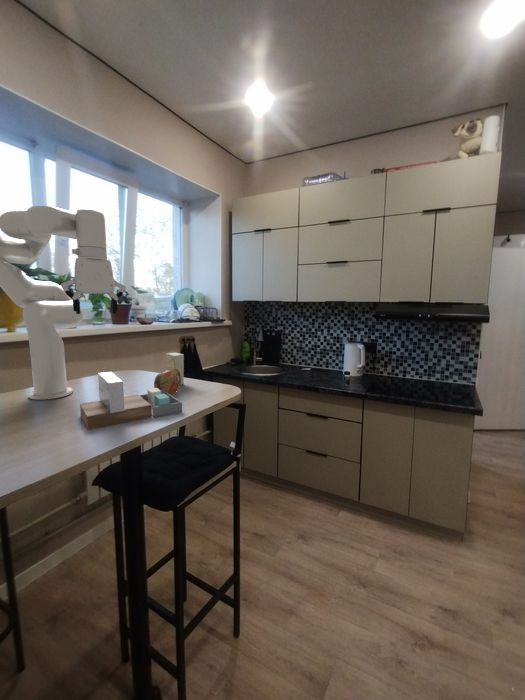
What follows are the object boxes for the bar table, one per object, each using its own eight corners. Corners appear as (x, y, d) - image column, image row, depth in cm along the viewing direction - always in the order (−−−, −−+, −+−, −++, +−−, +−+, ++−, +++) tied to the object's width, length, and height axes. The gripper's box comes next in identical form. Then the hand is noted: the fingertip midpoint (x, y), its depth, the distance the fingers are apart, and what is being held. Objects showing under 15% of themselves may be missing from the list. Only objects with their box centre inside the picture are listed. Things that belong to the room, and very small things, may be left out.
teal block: (154, 395, 96) (164, 393, 97) (154, 409, 96) (164, 407, 98) (159, 399, 92) (169, 397, 94) (159, 414, 93) (170, 412, 94)
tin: (161, 401, 106) (160, 375, 105) (152, 400, 107) (151, 375, 106) (181, 388, 121) (181, 366, 119) (174, 388, 121) (173, 366, 120)
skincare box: (165, 383, 127) (164, 353, 125) (175, 381, 130) (175, 352, 128) (174, 387, 123) (173, 355, 121) (184, 384, 126) (184, 354, 124)
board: (80, 415, 92) (79, 403, 91) (138, 405, 101) (138, 394, 101) (88, 429, 82) (87, 416, 82) (151, 416, 92) (151, 405, 91)
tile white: (147, 389, 102) (156, 387, 104) (147, 402, 103) (157, 401, 104) (151, 392, 98) (161, 391, 100) (151, 406, 99) (161, 405, 101)
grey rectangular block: (110, 413, 84) (108, 383, 83) (99, 399, 95) (97, 372, 94) (124, 410, 86) (123, 381, 85) (112, 397, 97) (110, 371, 96)
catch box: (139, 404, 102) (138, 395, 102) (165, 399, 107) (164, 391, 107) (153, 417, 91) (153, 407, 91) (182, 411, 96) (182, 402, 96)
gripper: (59, 250, 87) (64, 314, 90) (127, 256, 97) (129, 313, 100) (56, 253, 93) (61, 313, 96) (120, 258, 103) (123, 312, 106)
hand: (96, 313), depth 98 cm, fingers open, 9 cm apart
